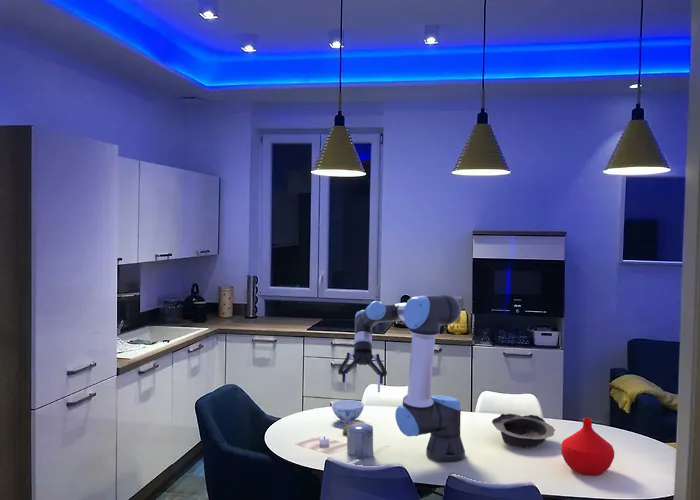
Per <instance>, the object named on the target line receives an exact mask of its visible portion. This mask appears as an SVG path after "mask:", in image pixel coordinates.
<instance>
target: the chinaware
mask: <svg viewBox="0 0 700 500" xmlns="http://www.w3.org/2000/svg"><path fill="white" fill-rule="evenodd" d="M364 405H365V404H364V403H363V402H362V401H359V400H353V399H352V400H351V399H345V400H337V401H334V402H333V403H331V408H332V410H333V411H332V412H333V413H334V415H335V416H336V417H337V418H338V419H339V420H340V422H342V423H344V424H349V423H351V422H356V420H357V419H358V418H359V417H360V416H361V415H362V413H363V410H364V407H365V406H364Z"/></svg>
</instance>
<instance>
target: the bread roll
mask: <svg viewBox="0 0 700 500" xmlns="http://www.w3.org/2000/svg"><path fill="white" fill-rule="evenodd" d="M358 423H362V422H360V421H354V422H351V423H346V425H345V426H344V428H343V429H342V434H343V435H345V436H346V437H347V427H348V426H349V425H351V424H358Z"/></svg>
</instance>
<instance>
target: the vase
mask: <svg viewBox="0 0 700 500" xmlns="http://www.w3.org/2000/svg"><path fill="white" fill-rule="evenodd" d="M592 423H593V421H592V418H588V417H584V418H583V420H582V428H580V429H579V430H578V431H576V432H575V433H573V434H571V435H570V436H568V437H566V438H564V439H563V440H562V442H561V444H560V447H561V448H560V453H561V455H562V458H563V460H564V463H566V465H567V466H568V467H569V468H570V469H571V470H572V471H573V472H575V473H576V474H578V475H582V476H588V477H597V476H601V475H602V474H604V473H605V472H607V471H608V470H609V468H610V467H611V465H612V463H613V462H614V460H615V450H614V447H613V445H612V444H611V443H610V442H609V441H607V440H606V439H605V438H603V437H602V436H601V435H600V434H598V433H597V432H596V431H595V430H594V428H593V426H592Z"/></svg>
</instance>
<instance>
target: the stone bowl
mask: <svg viewBox="0 0 700 500" xmlns="http://www.w3.org/2000/svg"><path fill="white" fill-rule="evenodd" d="M491 424H492V425H493V426H494V428H495V429H496V430H497V431H499V432H500V434H501V438H502V441H503V442H504V443H505V444H507V445H509V446H517V447H520V448H521V449H525V448H526V449H527V448H536V447H538V446H539V445H541V444H543V443H544V442H545V441H546V439H549V438H551V437H553V436H554V435H555V431H556V430H555V428H554V427H553V425H550V424H549V423H548V422H546V420H545V419H543V418H542V417H540V416H539V415H533V414H527V415H523V416H522V415H520V414H516V413H515V414H513V413H506V414H504V413H502V414H500V415H499V416H498V417H495V418H493V419H492V420H491Z"/></svg>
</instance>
